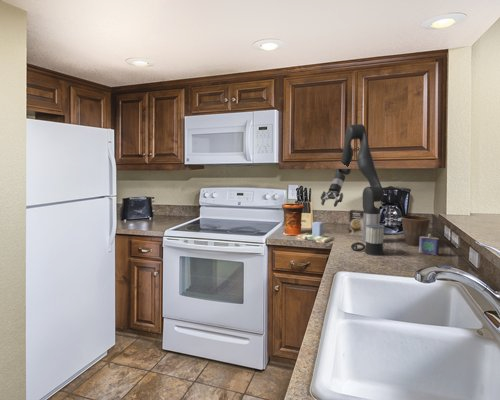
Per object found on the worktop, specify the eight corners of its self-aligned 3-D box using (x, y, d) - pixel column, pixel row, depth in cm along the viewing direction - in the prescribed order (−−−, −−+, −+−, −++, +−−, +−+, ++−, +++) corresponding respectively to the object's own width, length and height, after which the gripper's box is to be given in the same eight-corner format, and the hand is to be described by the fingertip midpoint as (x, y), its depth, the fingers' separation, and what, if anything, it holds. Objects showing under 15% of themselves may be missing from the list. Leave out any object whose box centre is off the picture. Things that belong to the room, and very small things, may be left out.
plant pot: (425, 249, 191) (427, 220, 189) (397, 245, 200) (398, 218, 198) (430, 244, 203) (432, 217, 201) (403, 240, 212) (404, 214, 210)
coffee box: (348, 234, 229) (349, 210, 227) (350, 233, 234) (351, 209, 232) (362, 236, 224) (363, 211, 223) (364, 234, 230) (365, 210, 228)
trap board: (332, 239, 214) (332, 236, 214) (324, 243, 205) (324, 239, 205) (306, 235, 225) (306, 232, 225) (297, 238, 216) (297, 235, 216)
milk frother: (385, 256, 177) (386, 227, 175) (353, 254, 180) (354, 226, 178) (379, 249, 191) (380, 222, 189) (350, 248, 193) (351, 221, 192)
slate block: (322, 235, 218) (323, 222, 217) (319, 236, 214) (319, 223, 213) (315, 234, 221) (316, 221, 220) (312, 235, 217) (312, 222, 216)
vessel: (281, 235, 225) (281, 205, 223) (281, 231, 239) (282, 202, 238) (303, 236, 224) (304, 205, 222) (302, 232, 238) (303, 203, 236)
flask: (418, 253, 182) (419, 233, 181) (419, 252, 184) (420, 232, 183) (438, 256, 177) (439, 235, 175) (438, 255, 179) (440, 234, 178)
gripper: (324, 182, 236) (316, 200, 229) (345, 183, 228) (337, 203, 220) (327, 189, 241) (319, 207, 234) (347, 191, 233) (340, 210, 225)
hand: (328, 205), depth 227 cm, fingers open, 8 cm apart
